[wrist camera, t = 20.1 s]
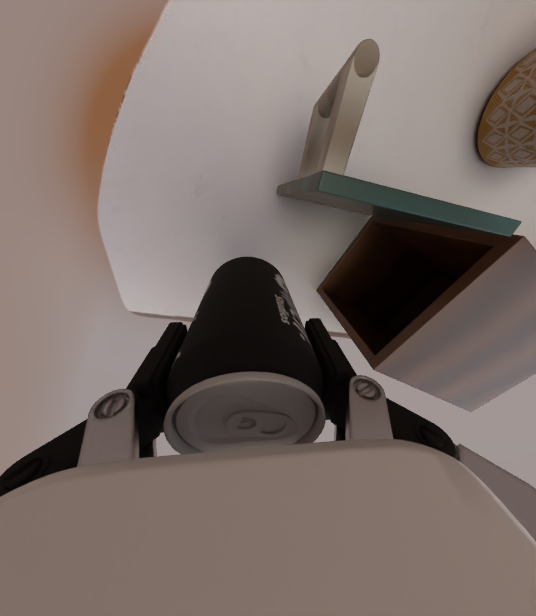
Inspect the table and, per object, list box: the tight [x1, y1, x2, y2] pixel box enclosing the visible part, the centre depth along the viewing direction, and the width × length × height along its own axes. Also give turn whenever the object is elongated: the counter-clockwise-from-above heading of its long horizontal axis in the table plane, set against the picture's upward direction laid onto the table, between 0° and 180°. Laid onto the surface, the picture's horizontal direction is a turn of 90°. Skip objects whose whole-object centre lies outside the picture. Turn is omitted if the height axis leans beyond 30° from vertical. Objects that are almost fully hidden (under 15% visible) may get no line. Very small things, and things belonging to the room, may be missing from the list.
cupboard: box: [317, 216, 536, 412], centre depth 26 cm, size 18×14×18 cm
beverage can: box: [164, 257, 326, 454], centre depth 12 cm, size 7×7×12 cm
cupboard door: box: [277, 39, 521, 237], centre depth 17 cm, size 8×14×18 cm, turn 79°
